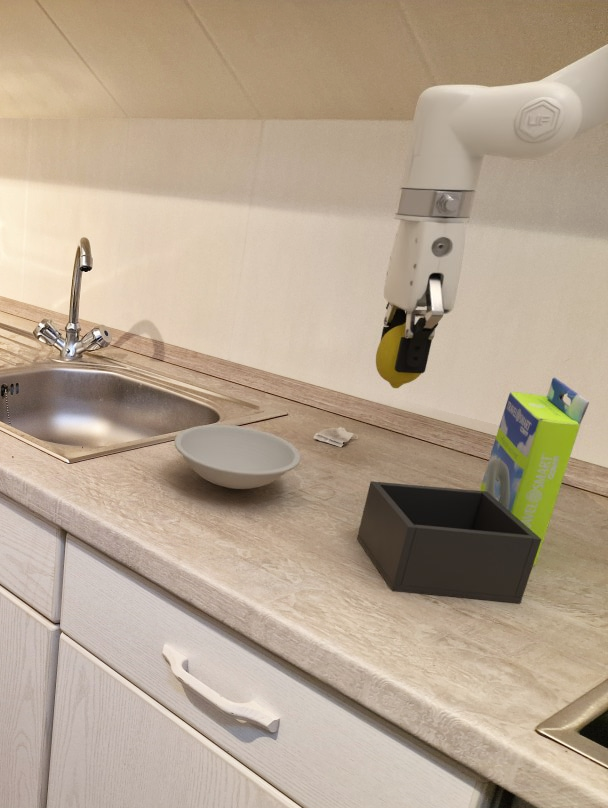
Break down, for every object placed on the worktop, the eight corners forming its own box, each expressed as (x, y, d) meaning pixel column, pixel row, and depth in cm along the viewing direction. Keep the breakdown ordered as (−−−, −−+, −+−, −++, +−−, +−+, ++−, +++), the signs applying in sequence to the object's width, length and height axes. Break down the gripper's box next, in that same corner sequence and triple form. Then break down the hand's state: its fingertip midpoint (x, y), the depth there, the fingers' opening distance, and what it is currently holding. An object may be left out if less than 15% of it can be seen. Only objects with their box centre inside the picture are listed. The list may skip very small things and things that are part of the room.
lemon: (368, 380, 106) (381, 316, 103) (417, 385, 104) (431, 320, 101) (372, 391, 101) (385, 324, 98) (423, 396, 99) (439, 328, 96)
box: (468, 521, 96) (512, 371, 89) (509, 527, 95) (556, 376, 88) (493, 561, 86) (544, 397, 80) (539, 568, 85) (594, 403, 79)
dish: (295, 524, 93) (304, 481, 91) (162, 503, 97) (168, 461, 95) (290, 470, 109) (297, 433, 107) (175, 454, 112) (180, 418, 111)
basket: (470, 549, 89) (487, 491, 86) (520, 603, 78) (542, 539, 76) (356, 538, 90) (370, 480, 88) (391, 590, 80) (408, 526, 77)
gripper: (503, 213, 87) (462, 386, 93) (439, 203, 102) (408, 352, 109) (426, 210, 87) (390, 382, 94) (374, 201, 103) (347, 349, 110)
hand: (400, 364), depth 101 cm, fingers closed on lemon, 5 cm apart
